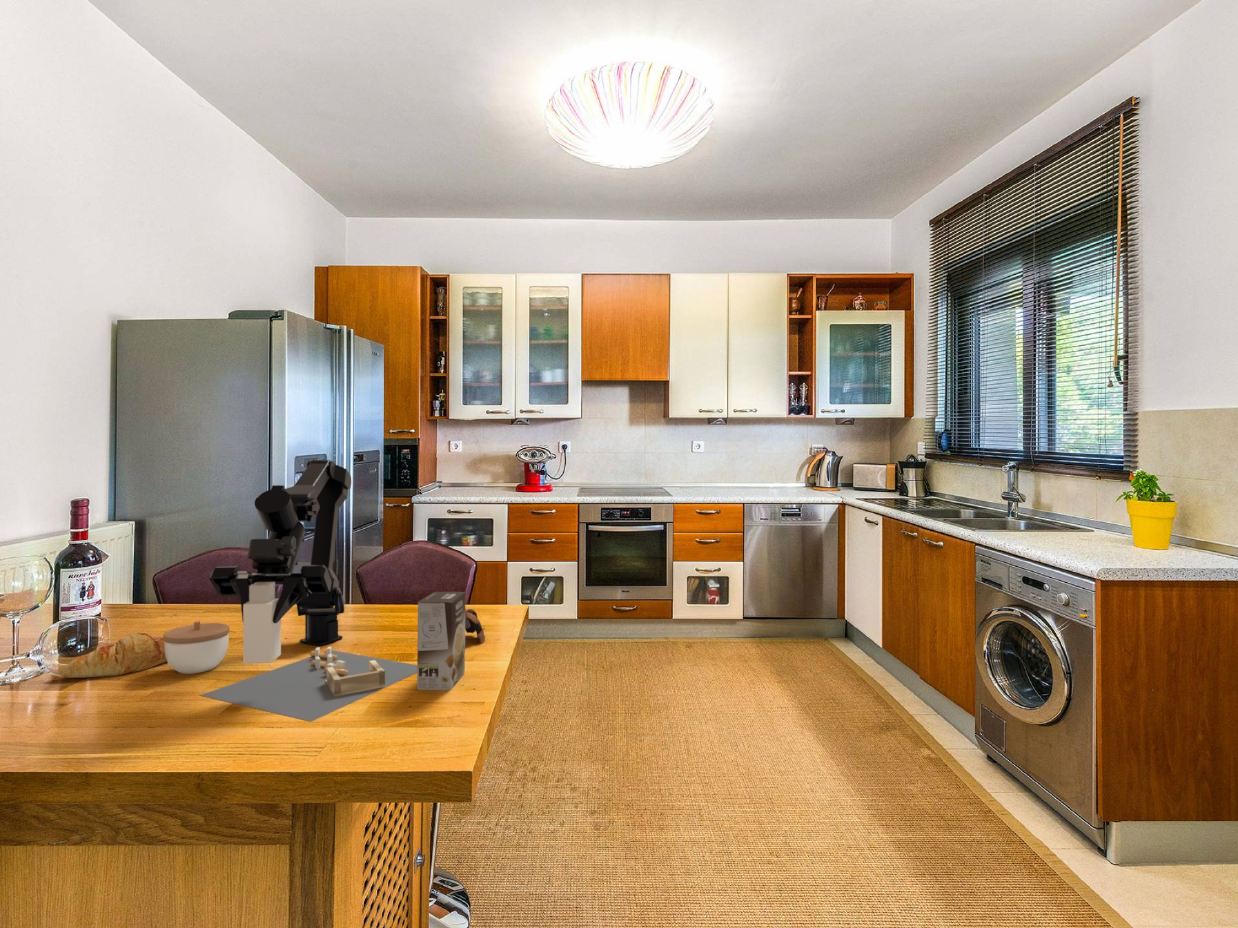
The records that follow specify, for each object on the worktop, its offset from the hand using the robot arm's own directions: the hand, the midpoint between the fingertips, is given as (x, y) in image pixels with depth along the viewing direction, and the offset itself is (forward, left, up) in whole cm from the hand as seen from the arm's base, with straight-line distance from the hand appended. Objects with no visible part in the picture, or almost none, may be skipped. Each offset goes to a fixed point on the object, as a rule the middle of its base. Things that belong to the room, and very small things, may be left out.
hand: (259, 622), depth 110 cm
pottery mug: (+10, +44, -14) cm, 47 cm away
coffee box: (+22, +20, -14) cm, 33 cm away
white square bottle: (-1, +1, -7) cm, 7 cm away
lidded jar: (-25, +6, -14) cm, 29 cm away
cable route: (-3, +18, -13) cm, 22 cm away
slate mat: (+2, +11, -13) cm, 17 cm away
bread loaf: (-38, +2, -14) cm, 41 cm away
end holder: (+9, +12, -13) cm, 20 cm away
